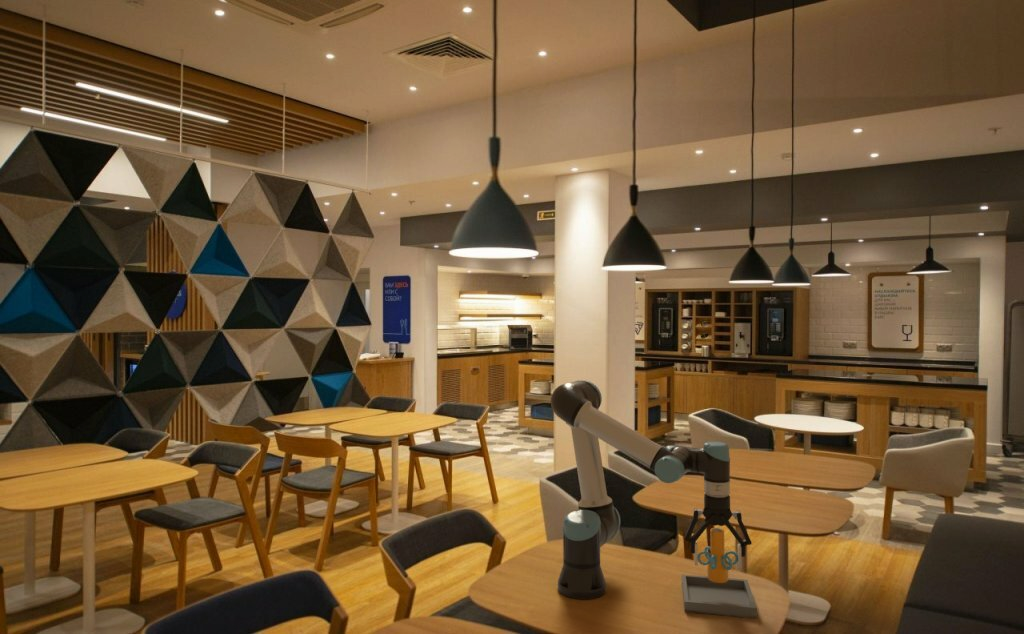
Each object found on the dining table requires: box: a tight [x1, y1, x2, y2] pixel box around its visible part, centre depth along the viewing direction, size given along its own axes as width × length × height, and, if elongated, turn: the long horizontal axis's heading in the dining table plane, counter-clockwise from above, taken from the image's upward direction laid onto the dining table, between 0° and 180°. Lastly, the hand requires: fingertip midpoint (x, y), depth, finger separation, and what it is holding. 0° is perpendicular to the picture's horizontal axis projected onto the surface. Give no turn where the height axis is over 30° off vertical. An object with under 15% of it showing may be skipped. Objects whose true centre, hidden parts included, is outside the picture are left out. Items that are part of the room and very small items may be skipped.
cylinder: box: [698, 527, 738, 583], centre depth 194 cm, size 12×10×15 cm
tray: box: [681, 573, 758, 619], centre depth 194 cm, size 20×20×3 cm
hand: (717, 565), depth 194 cm, fingers closed on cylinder, 12 cm apart
